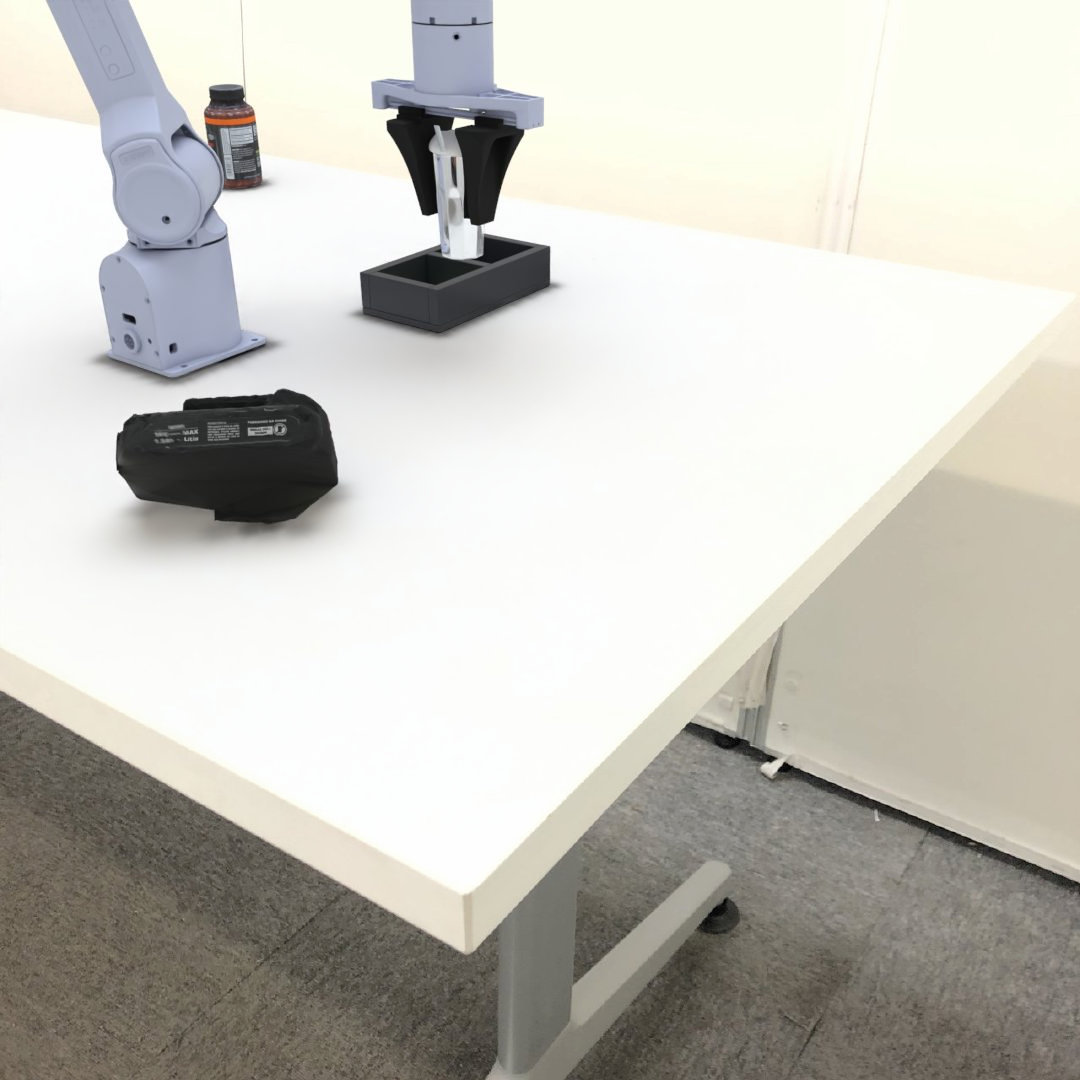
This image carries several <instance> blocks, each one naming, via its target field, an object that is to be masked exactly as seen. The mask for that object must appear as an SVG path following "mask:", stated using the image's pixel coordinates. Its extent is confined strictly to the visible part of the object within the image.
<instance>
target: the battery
mask: <svg viewBox="0 0 1080 1080" xmlns="http://www.w3.org/2000/svg"><path fill="white" fill-rule="evenodd" d="M115 466H116V467H115V468H116V472H117V473H118V475H119V476H121V478H122V479H123V480H124V481H125V482H126V485H128V487H129V489H130V490H131V491H132V494H133V495H134V496H135V497H136V499H138V500H140V501H147V502H153V503H160V504H166V505H174V506H175V505H176V506H181V507H189V508H196V509H203V510H210V511H213V516H214V517H213V519H214V521H218V522H228V523H229V522H230V523H231V522H232V523H249V524H252V523H253V524H257V523H258V524H259V523H260V524H265V525H271V524H277V523H283V522H286V521H291V520H296V519H297V518H298V517H300V516H301V515H302V514H303V513H305V512H306V510H307V509H309V508H310V507H311V506H312V505H314V504H315V503H316V502H318V501H319V500H320V499H322V498H323V497H324V496H325V495H327V494H328V493H329V492H331V490H333V489H334V488H335V487H337V486H338V484H339V469H338V468H339V466H338V457H337V452H336V448H335V442H334V438H333V432H332V429H331V423H330V419H329V416H328V413H327V412H326V411H325V409H324V408H323V407H322V405H320V403H319V402H317V401H316V400H315V399H313V398H312V397H310V396H308V395H306V394H305V393H301V392H297V391H294V390H291V389H289V388H284V387H283V388H282V387H281V388H279V389H277V390H275V392H274V393H267V394H260V395H259V394H252V395H234V396H228V395H227V396H226V395H223V396H215V397H209V396H208V397H199V398H197V397H190V398H187V399H185V400H184V401H183V403H182V410H172V411H157V412H150V413H149V412H148V413H145V412H144V413H142V414H137V413H133V414H132V415H131V416H130V417H128V419H126V420H125V421H124V422H123V426H122V430H121V431H120V432H117V434H116V441H115Z"/></svg>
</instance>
